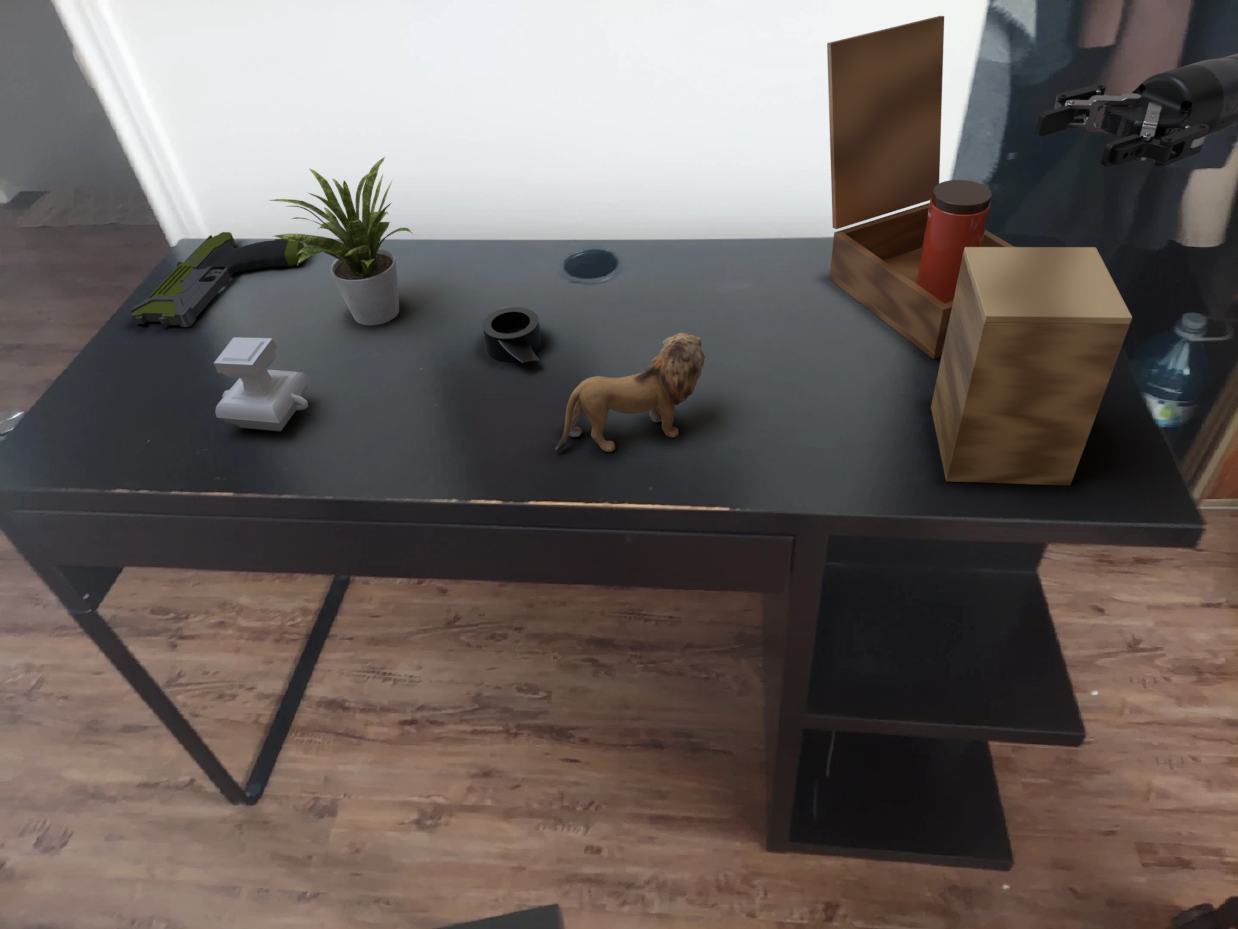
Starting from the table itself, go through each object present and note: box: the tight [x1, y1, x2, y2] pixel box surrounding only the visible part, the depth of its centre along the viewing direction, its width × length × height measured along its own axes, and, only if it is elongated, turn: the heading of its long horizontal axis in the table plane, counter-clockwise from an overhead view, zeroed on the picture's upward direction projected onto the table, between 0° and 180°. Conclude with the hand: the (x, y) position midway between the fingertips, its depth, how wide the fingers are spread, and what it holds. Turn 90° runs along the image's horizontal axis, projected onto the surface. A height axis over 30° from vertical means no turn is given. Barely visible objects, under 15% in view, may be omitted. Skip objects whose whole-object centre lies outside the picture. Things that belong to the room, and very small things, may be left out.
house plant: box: [269, 156, 414, 326], centre depth 99 cm, size 14×14×16 cm
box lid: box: [826, 15, 945, 230], centre depth 97 cm, size 18×14×4 cm
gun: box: [130, 231, 306, 328], centre depth 109 cm, size 2×19×15 cm
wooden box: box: [829, 202, 1015, 360], centre depth 96 cm, size 18×14×6 cm
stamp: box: [213, 336, 311, 432], centre depth 87 cm, size 9×7×8 cm
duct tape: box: [482, 305, 543, 364], centre depth 96 cm, size 8×10×3 cm
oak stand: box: [930, 254, 1131, 486], centre depth 75 cm, size 10×10×16 cm
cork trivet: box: [964, 246, 1133, 324], centre depth 70 cm, size 10×10×1 cm
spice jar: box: [916, 179, 993, 304], centre depth 92 cm, size 6×6×12 cm
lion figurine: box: [554, 332, 706, 453], centre depth 82 cm, size 15×5×9 cm, turn 112°
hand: (1070, 139), depth 90 cm, fingers open, 8 cm apart
